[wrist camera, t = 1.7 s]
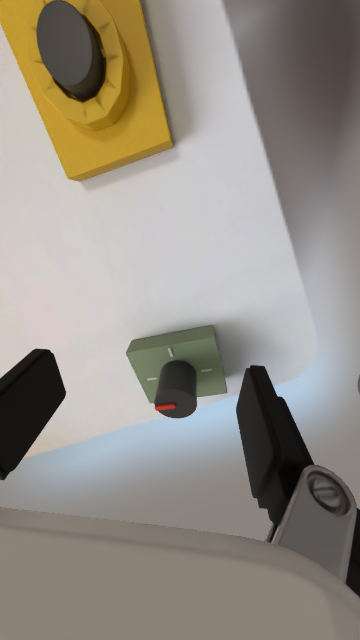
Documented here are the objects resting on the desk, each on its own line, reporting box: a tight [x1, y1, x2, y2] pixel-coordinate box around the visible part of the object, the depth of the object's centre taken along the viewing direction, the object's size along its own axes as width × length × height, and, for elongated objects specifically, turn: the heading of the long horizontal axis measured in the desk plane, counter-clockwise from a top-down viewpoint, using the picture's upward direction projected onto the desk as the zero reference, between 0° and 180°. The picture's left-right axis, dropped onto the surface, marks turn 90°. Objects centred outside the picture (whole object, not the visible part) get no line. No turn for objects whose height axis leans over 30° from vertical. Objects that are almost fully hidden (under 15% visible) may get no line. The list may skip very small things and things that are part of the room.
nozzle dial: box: [154, 360, 197, 418], centre depth 26 cm, size 5×5×5 cm
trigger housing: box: [0, 0, 173, 181], centre depth 16 cm, size 10×11×4 cm
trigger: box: [36, 0, 103, 98], centre depth 14 cm, size 4×4×2 cm
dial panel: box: [126, 325, 227, 403], centre depth 30 cm, size 12×10×3 cm
